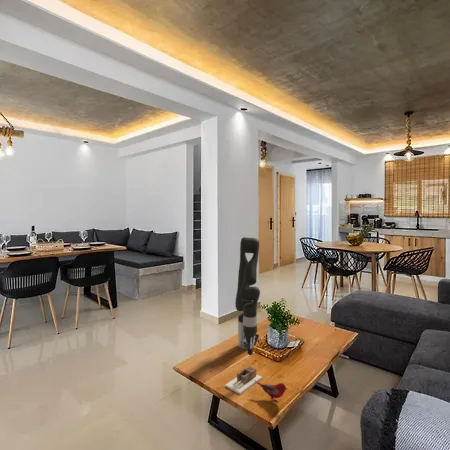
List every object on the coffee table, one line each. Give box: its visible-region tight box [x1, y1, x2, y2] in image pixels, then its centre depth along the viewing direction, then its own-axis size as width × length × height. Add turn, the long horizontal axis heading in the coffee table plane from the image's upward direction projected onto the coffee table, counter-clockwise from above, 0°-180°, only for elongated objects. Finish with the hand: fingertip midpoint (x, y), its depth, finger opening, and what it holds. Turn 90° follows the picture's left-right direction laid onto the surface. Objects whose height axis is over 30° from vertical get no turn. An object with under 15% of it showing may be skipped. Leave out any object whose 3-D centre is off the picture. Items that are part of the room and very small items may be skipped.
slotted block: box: [236, 365, 257, 385], centre depth 163 cm, size 10×5×4 cm, turn 137°
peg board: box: [224, 373, 263, 395], centre depth 161 cm, size 18×10×4 cm, turn 137°
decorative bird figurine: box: [255, 381, 288, 402], centre depth 147 cm, size 3×18×10 cm, turn 53°
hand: (250, 354), depth 166 cm, fingers closed
